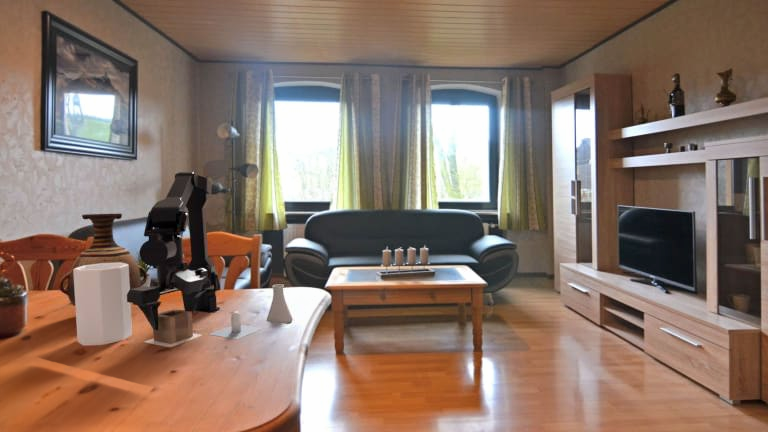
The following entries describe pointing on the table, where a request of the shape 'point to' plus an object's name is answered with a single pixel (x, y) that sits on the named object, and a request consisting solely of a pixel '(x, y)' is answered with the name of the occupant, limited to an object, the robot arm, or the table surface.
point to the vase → (104, 253)
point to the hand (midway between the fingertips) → (173, 324)
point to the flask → (279, 306)
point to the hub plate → (235, 335)
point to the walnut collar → (173, 326)
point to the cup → (102, 303)
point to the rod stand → (173, 343)
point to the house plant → (143, 265)
